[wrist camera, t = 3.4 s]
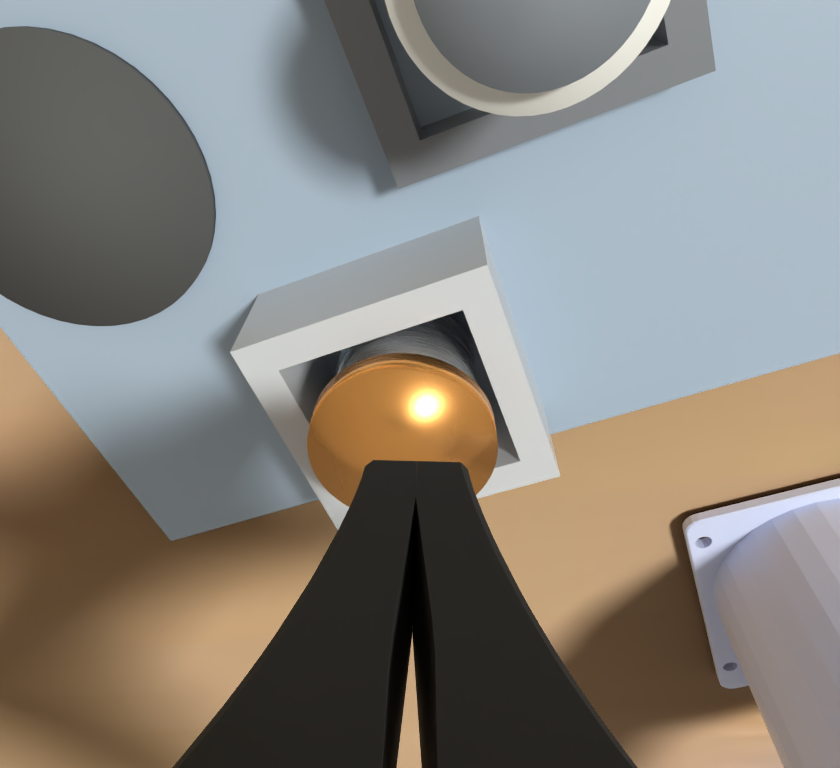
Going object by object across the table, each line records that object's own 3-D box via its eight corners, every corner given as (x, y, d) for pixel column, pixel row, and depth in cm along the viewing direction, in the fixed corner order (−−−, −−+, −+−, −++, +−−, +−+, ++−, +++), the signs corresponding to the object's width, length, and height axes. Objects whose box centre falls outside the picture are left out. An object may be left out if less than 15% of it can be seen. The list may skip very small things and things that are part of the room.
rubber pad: (266, 271, 17) (264, 276, 17) (40, 353, 19) (35, 358, 19) (106, -30, 14) (100, -30, 14) (-158, 99, 15) (-168, 101, 15)
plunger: (506, 403, 19) (521, 494, 16) (366, 444, 20) (353, 539, 16) (456, 269, 17) (462, 344, 14) (301, 322, 17) (273, 404, 14)
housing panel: (869, 330, 19) (954, 404, 16) (176, 528, 23) (138, 616, 20) (847, -519, 11) (1013, -704, 8) (-209, 34, 15) (-369, 56, 12)
